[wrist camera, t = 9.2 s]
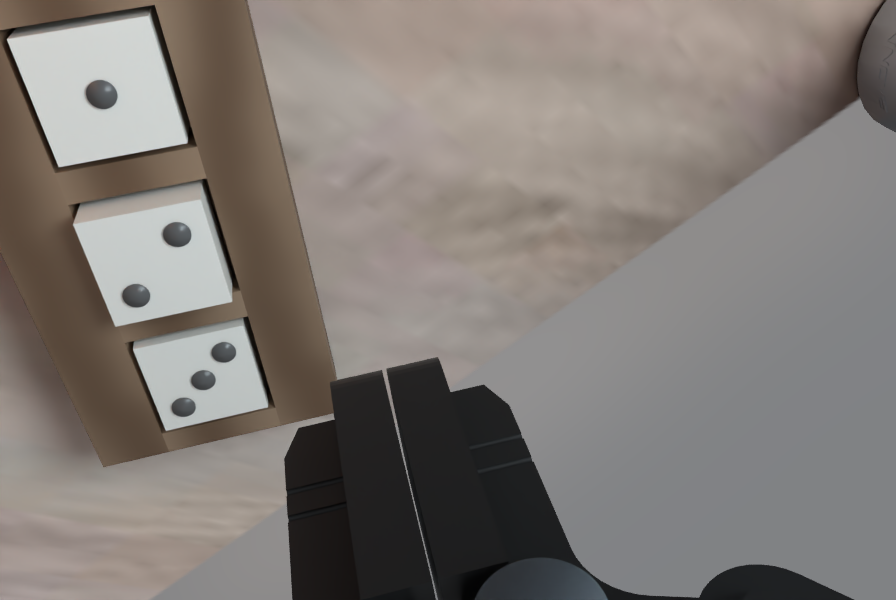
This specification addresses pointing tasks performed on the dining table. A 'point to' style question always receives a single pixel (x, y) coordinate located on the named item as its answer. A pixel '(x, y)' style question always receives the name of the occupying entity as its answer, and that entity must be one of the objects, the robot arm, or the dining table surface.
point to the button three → (203, 372)
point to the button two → (155, 252)
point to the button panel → (204, 157)
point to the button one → (102, 84)
